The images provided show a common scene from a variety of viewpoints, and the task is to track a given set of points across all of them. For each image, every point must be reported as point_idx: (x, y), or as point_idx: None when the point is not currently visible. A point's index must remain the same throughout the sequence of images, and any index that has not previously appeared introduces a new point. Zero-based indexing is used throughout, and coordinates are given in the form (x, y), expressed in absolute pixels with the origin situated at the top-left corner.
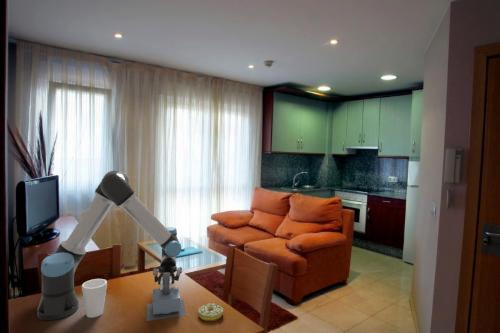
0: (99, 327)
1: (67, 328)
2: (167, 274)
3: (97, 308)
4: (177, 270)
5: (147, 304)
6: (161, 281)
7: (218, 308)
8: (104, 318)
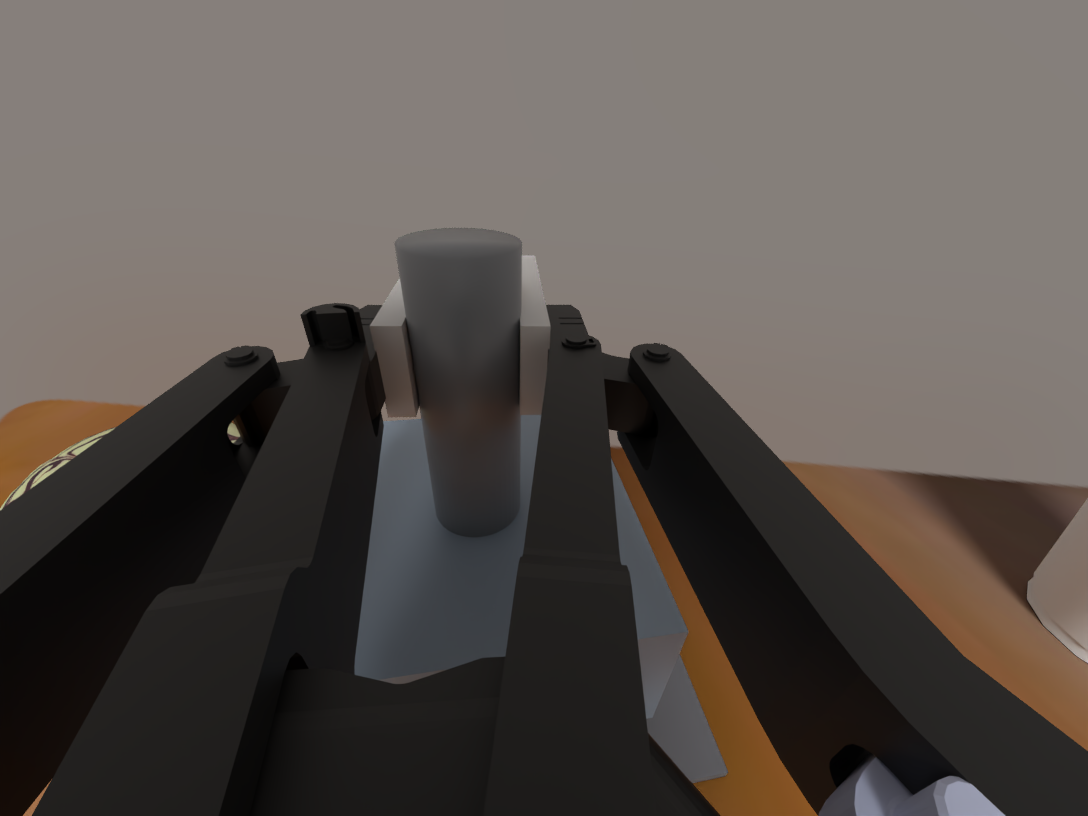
0: (863, 474)
1: (1041, 483)
2: (446, 230)
3: (1065, 530)
4: (20, 568)
5: (718, 758)
6: (528, 268)
7: (76, 449)
8: (937, 555)
